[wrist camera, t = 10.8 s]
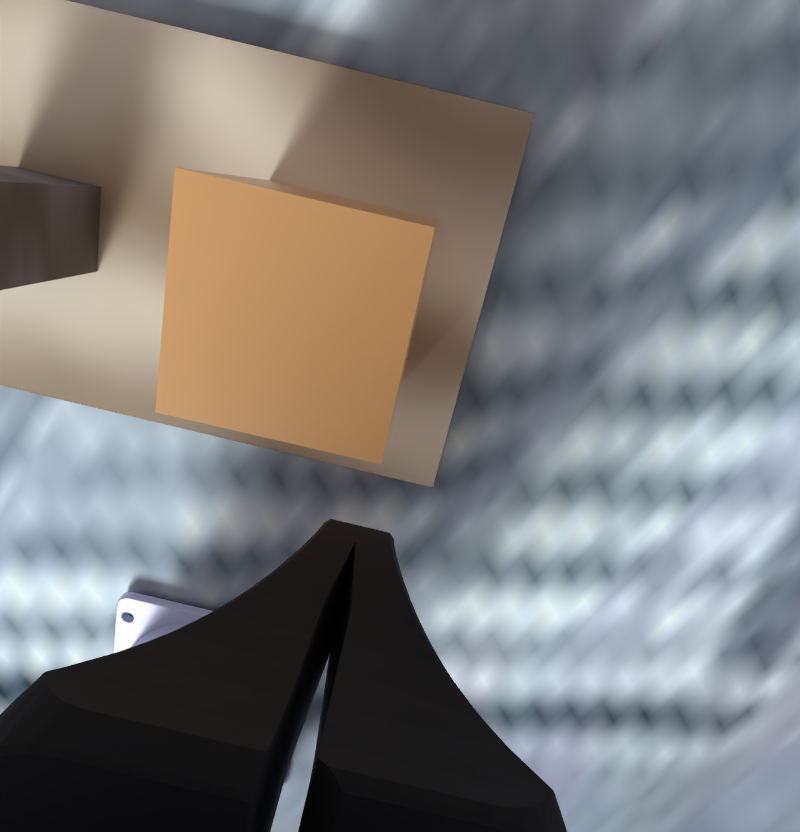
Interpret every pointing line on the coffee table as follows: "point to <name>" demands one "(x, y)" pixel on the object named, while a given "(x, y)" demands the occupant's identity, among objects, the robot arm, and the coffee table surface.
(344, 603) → the robot arm
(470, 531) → the coffee table surface
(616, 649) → the coffee table surface
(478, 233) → the post board
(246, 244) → the orange rectangular block
